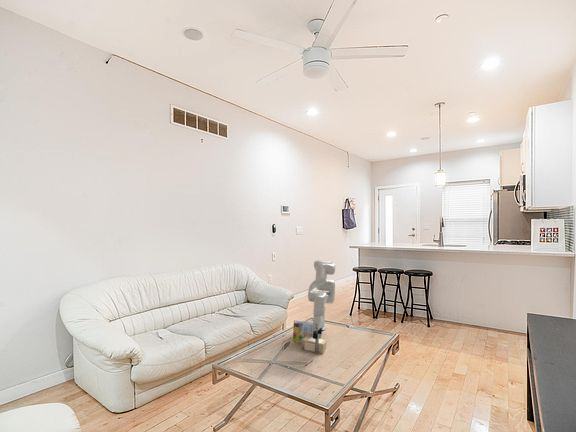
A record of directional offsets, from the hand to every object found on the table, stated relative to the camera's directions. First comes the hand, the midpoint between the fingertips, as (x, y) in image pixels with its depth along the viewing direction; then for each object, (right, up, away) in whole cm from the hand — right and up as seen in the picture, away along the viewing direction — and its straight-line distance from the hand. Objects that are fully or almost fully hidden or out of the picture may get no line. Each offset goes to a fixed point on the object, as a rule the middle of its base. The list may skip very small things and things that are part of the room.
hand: (317, 336), depth 224 cm
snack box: (-7, -12, +19) cm, 23 cm away
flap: (-5, -12, +3) cm, 13 cm away
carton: (-2, -12, +8) cm, 14 cm away
